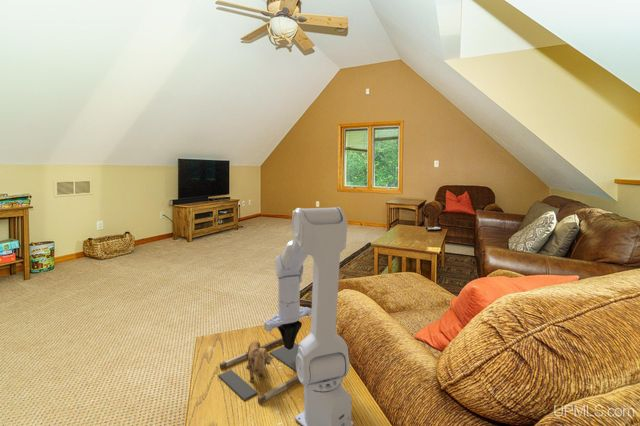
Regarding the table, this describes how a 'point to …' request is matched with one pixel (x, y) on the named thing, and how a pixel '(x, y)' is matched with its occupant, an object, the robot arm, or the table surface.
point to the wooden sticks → (276, 389)
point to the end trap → (237, 384)
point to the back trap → (287, 355)
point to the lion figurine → (257, 359)
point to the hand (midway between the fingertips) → (288, 347)
